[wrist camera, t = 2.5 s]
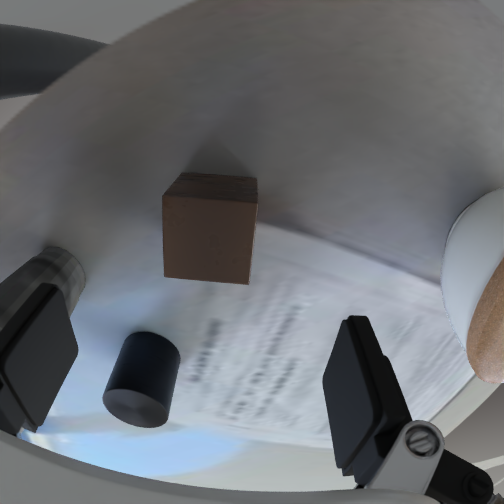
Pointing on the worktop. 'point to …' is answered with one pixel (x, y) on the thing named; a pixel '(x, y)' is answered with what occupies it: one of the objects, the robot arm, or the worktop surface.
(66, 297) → the beverage cup
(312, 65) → the worktop surface
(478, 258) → the lidded bowl
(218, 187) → the walnut block
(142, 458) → the worktop surface
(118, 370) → the black cylinder
